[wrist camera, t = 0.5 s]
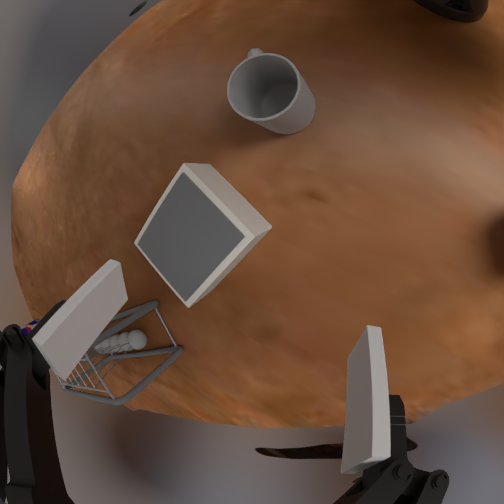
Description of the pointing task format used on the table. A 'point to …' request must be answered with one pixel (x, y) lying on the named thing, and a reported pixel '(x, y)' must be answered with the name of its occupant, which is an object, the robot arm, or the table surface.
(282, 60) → the cup
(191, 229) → the white rectangular block
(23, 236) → the table surface
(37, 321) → the energy drink
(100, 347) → the newton's cradle
